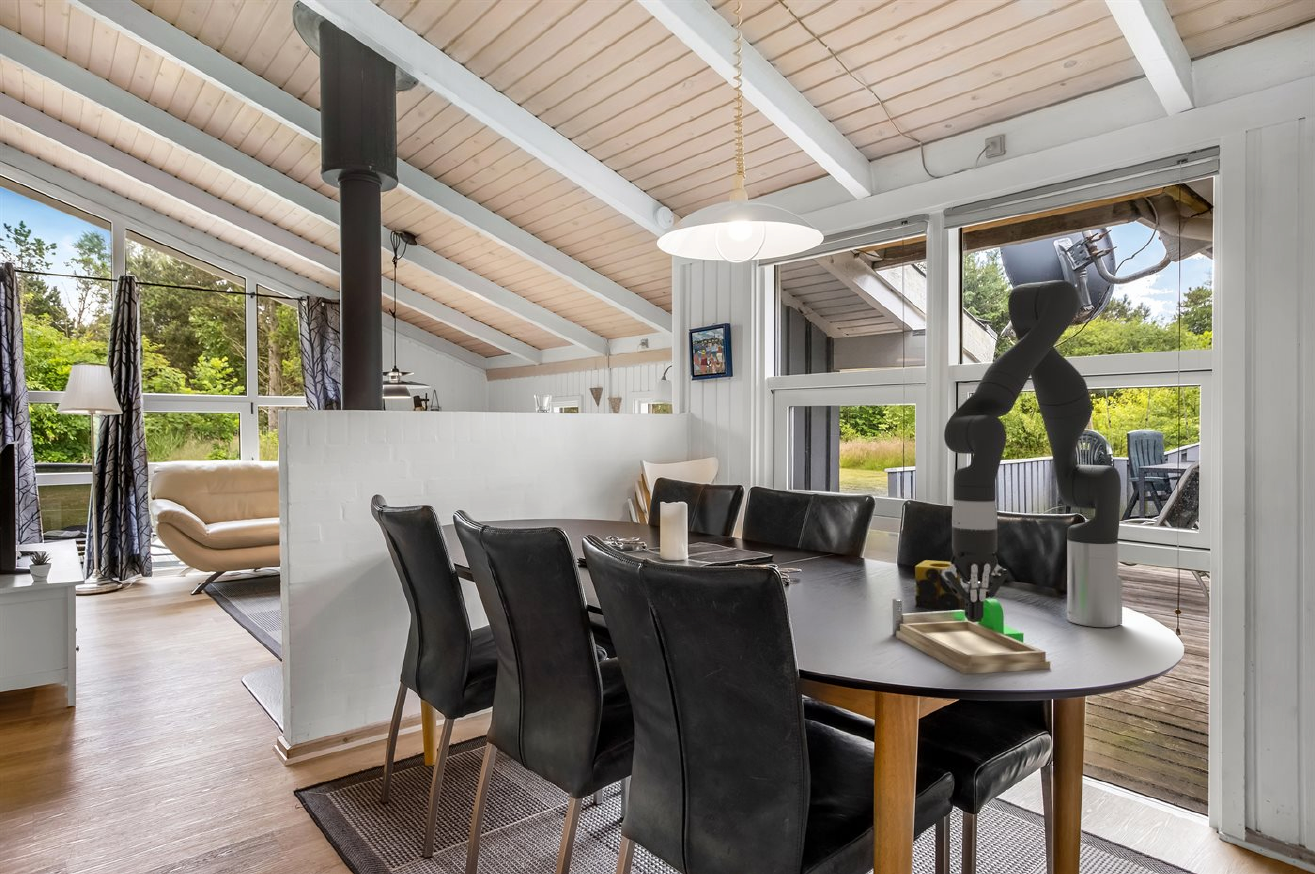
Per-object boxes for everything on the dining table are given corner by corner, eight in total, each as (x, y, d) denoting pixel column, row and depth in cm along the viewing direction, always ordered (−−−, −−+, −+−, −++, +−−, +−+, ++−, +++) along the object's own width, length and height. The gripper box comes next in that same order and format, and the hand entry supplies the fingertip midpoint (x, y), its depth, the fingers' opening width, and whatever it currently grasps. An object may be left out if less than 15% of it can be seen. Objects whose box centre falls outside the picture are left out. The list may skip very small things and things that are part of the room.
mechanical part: (1023, 643, 142) (1023, 601, 142) (993, 644, 142) (993, 602, 142) (988, 627, 154) (988, 588, 154) (961, 628, 154) (961, 589, 154)
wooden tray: (970, 632, 149) (970, 619, 149) (1050, 668, 126) (1050, 652, 126) (896, 637, 146) (896, 623, 146) (964, 674, 124) (964, 657, 124)
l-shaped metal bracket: (960, 628, 152) (960, 594, 152) (965, 630, 151) (965, 596, 151) (890, 633, 149) (890, 598, 149) (895, 636, 147) (895, 600, 147)
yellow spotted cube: (970, 605, 173) (970, 563, 173) (961, 614, 165) (961, 569, 164) (924, 600, 179) (924, 559, 178) (914, 609, 170) (914, 565, 170)
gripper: (952, 528, 129) (952, 628, 129) (1020, 527, 132) (1020, 624, 132) (929, 523, 137) (929, 617, 137) (994, 522, 139) (994, 614, 139)
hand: (974, 621), depth 134 cm, fingers closed
